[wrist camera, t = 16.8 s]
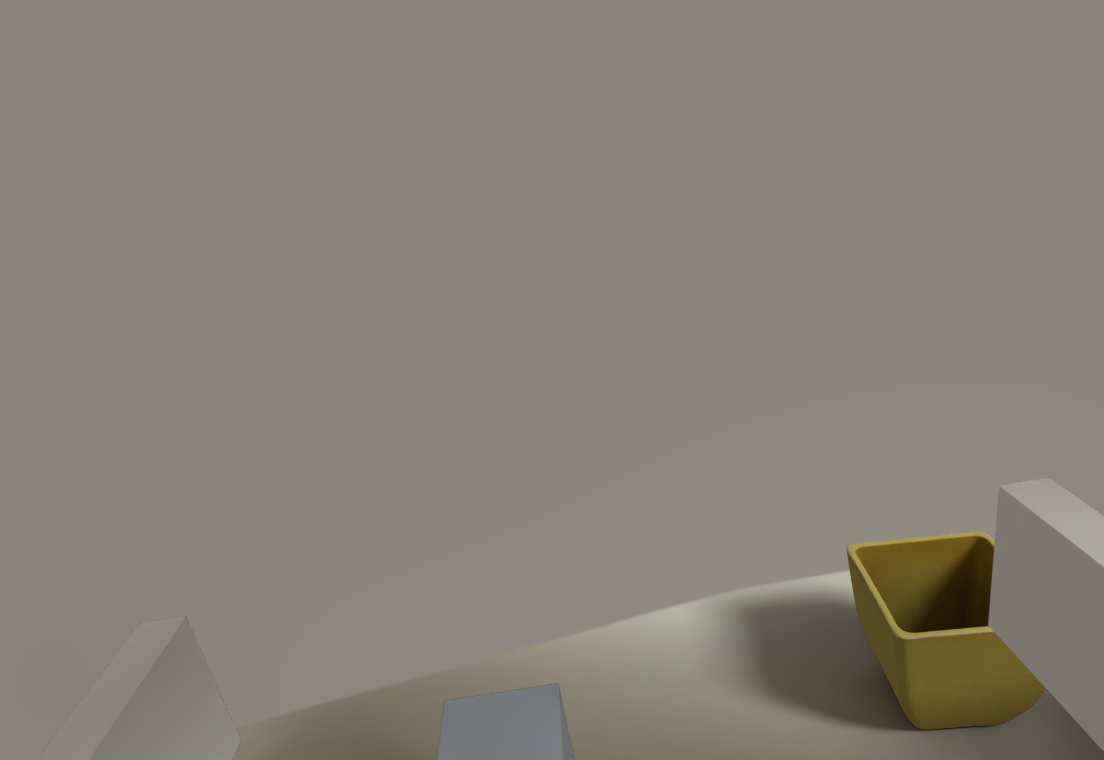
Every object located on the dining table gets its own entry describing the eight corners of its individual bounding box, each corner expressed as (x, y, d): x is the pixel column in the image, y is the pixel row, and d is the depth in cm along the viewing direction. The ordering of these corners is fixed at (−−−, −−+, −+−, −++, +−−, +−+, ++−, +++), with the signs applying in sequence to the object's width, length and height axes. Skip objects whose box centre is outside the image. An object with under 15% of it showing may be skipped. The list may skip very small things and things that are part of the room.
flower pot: (845, 650, 48) (843, 541, 45) (977, 639, 47) (985, 527, 44) (895, 760, 40) (897, 638, 37) (1056, 750, 39) (1073, 624, 36)
